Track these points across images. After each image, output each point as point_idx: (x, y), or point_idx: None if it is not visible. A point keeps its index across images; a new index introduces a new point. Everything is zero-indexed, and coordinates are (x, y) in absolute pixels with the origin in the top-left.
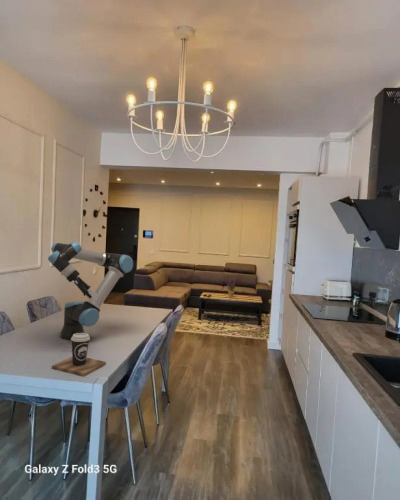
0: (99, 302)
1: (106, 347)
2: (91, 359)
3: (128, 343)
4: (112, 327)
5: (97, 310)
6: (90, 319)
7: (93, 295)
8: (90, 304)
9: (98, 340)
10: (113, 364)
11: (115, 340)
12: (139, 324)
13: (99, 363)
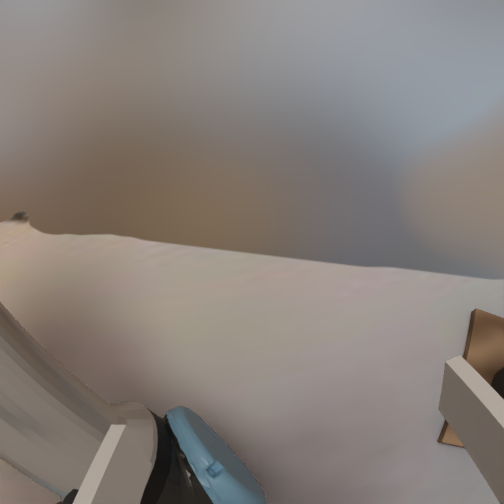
0: (98, 404)
1: (296, 362)
2: (471, 364)
3: (230, 284)
4: None
5: (173, 420)
6: (234, 460)
7: (133, 475)
8: (155, 485)
9: (200, 414)
10: (462, 288)
11: (194, 341)
12: (26, 276)
13: (492, 323)
